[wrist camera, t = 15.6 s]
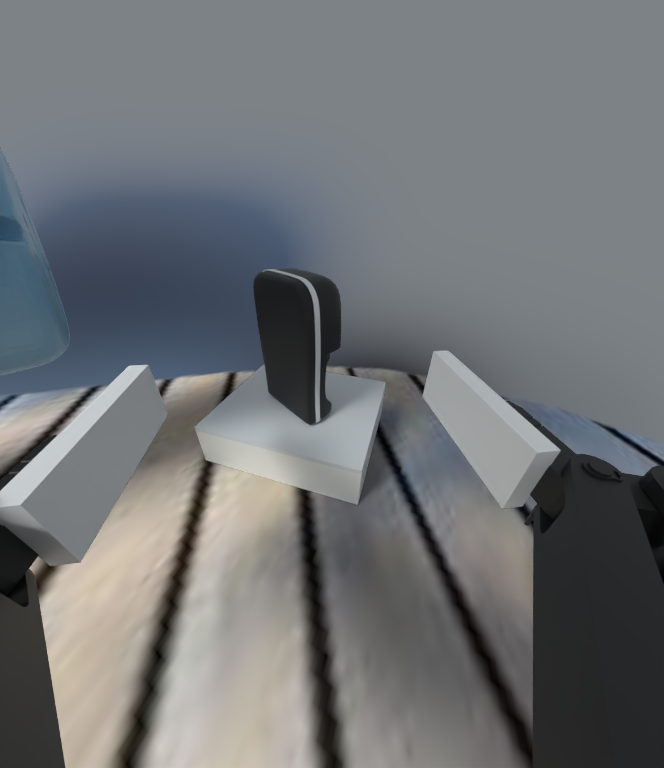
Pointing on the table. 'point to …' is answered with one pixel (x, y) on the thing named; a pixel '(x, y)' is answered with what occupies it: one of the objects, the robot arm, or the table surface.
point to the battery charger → (298, 337)
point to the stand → (297, 435)
